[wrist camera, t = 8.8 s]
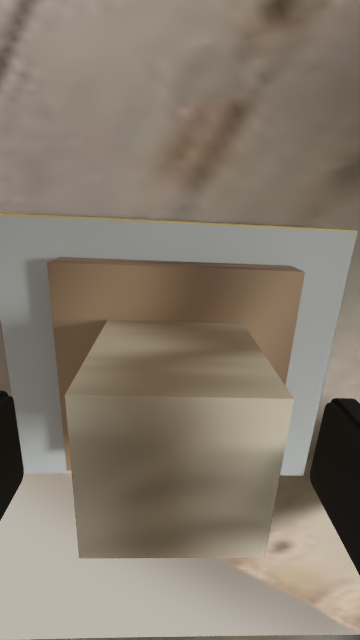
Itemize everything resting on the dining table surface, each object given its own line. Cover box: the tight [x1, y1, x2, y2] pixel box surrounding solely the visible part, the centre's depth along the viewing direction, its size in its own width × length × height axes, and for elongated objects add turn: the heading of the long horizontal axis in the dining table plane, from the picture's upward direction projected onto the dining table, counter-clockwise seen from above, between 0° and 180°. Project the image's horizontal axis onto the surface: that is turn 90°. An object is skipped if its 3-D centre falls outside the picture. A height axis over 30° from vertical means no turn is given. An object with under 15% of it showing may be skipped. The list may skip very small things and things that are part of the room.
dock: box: [0, 213, 358, 476], centre depth 16 cm, size 14×12×4 cm
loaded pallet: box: [47, 257, 305, 558], centre depth 11 cm, size 9×9×6 cm
